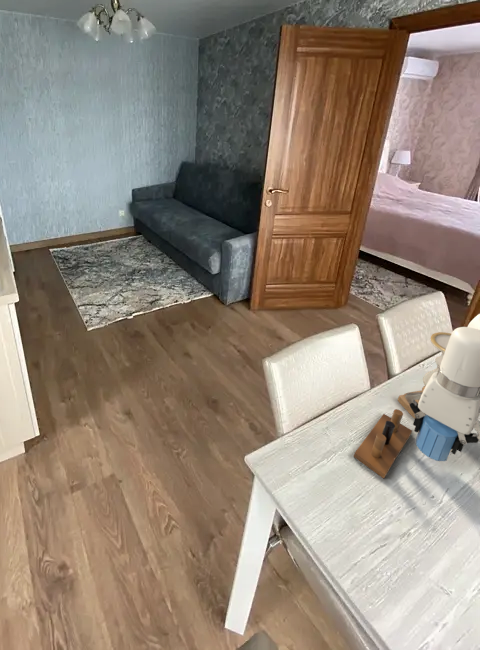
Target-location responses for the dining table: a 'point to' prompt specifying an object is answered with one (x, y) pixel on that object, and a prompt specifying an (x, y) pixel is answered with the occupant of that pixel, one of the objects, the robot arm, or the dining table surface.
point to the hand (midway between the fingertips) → (435, 438)
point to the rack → (383, 443)
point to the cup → (435, 439)
